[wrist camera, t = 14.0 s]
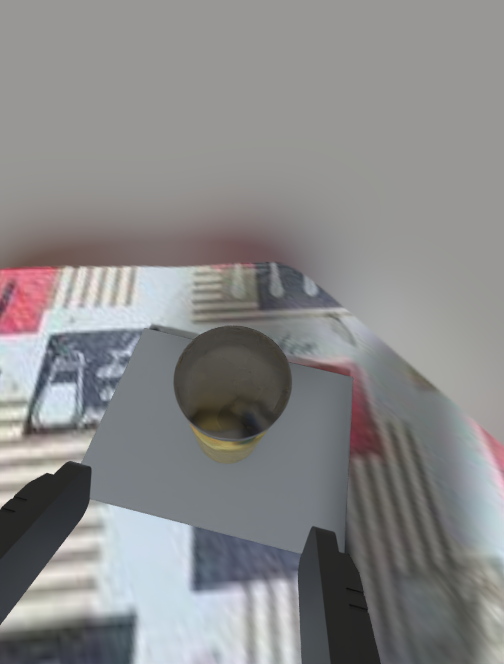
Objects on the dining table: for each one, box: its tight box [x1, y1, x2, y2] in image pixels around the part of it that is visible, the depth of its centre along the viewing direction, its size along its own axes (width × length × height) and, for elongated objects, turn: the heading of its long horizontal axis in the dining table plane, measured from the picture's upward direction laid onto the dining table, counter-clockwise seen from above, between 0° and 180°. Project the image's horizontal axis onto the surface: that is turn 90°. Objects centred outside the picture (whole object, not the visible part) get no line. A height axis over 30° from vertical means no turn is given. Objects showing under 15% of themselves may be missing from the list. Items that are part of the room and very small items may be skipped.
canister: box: [173, 326, 292, 464], centre depth 19 cm, size 5×5×12 cm
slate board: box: [81, 328, 353, 554], centre depth 24 cm, size 20×14×1 cm
